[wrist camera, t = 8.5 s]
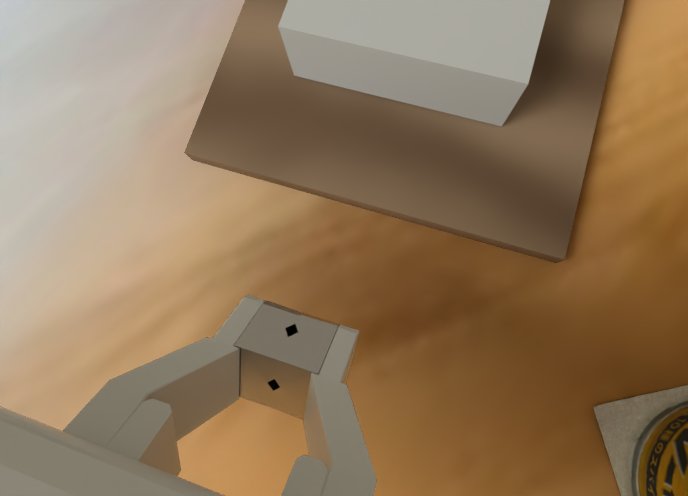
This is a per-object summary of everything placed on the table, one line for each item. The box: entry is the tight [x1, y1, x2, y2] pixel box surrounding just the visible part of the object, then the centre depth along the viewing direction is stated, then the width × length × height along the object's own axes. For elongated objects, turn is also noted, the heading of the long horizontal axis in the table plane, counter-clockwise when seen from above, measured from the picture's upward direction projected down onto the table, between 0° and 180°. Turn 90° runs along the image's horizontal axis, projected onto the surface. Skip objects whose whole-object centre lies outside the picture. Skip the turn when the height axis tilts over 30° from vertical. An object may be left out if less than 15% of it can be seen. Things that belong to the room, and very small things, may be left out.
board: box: [184, 0, 625, 263], centre depth 18 cm, size 19×16×2 cm
